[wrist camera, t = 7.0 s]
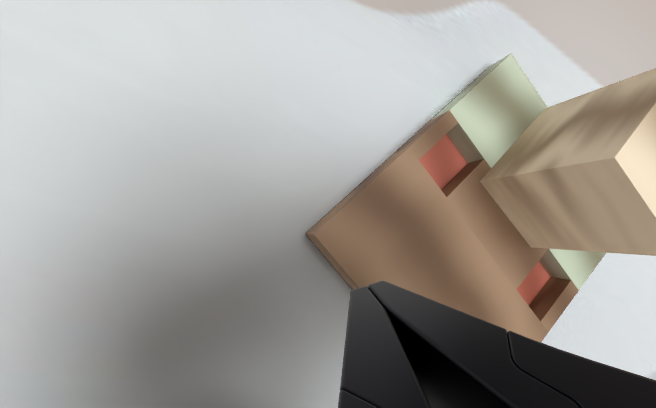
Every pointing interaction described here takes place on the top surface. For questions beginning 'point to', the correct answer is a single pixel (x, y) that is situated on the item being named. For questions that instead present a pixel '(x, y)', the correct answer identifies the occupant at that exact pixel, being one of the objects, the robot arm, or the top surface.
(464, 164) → the board
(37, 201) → the top surface
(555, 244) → the maple block
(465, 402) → the robot arm
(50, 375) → the top surface
